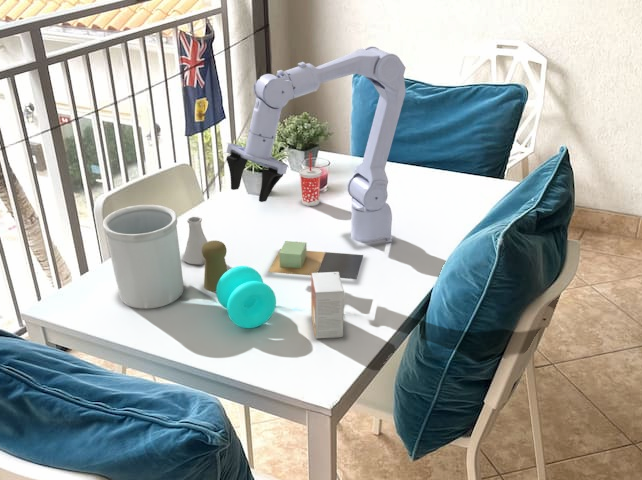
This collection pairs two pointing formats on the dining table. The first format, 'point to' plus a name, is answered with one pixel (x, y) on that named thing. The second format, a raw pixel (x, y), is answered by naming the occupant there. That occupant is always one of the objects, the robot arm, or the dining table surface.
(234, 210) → the dining table surface
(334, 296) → the small box
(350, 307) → the dining table surface
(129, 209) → the utensil holder
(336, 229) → the dining table surface
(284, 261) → the sage block
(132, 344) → the dining table surface
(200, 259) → the flask
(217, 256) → the cork
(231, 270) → the turquoise spool
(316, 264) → the board
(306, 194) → the beverage cup
